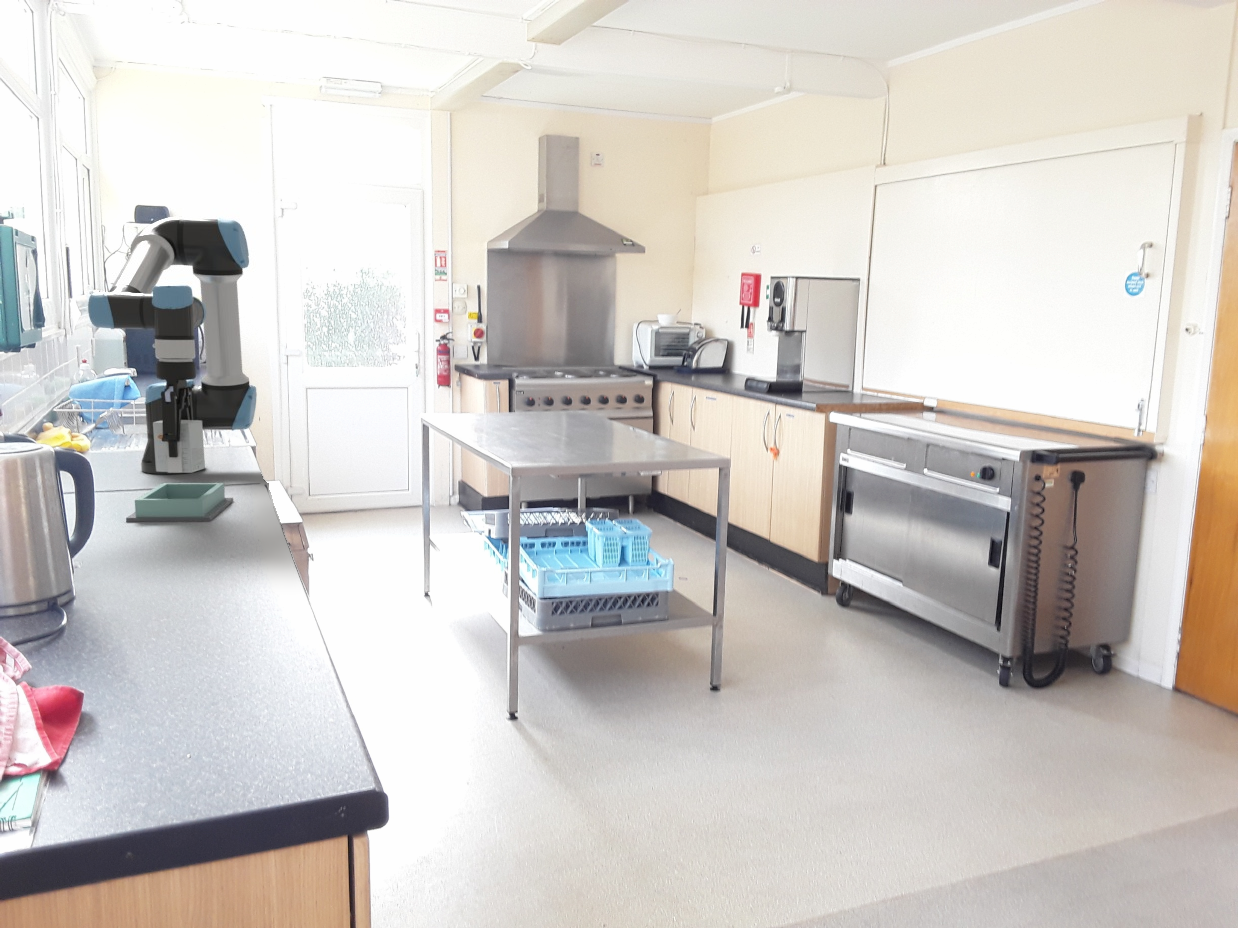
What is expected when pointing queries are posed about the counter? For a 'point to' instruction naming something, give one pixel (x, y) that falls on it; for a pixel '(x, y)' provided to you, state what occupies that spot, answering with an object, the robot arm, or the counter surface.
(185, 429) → the small box
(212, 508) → the caddy
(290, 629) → the counter surface
